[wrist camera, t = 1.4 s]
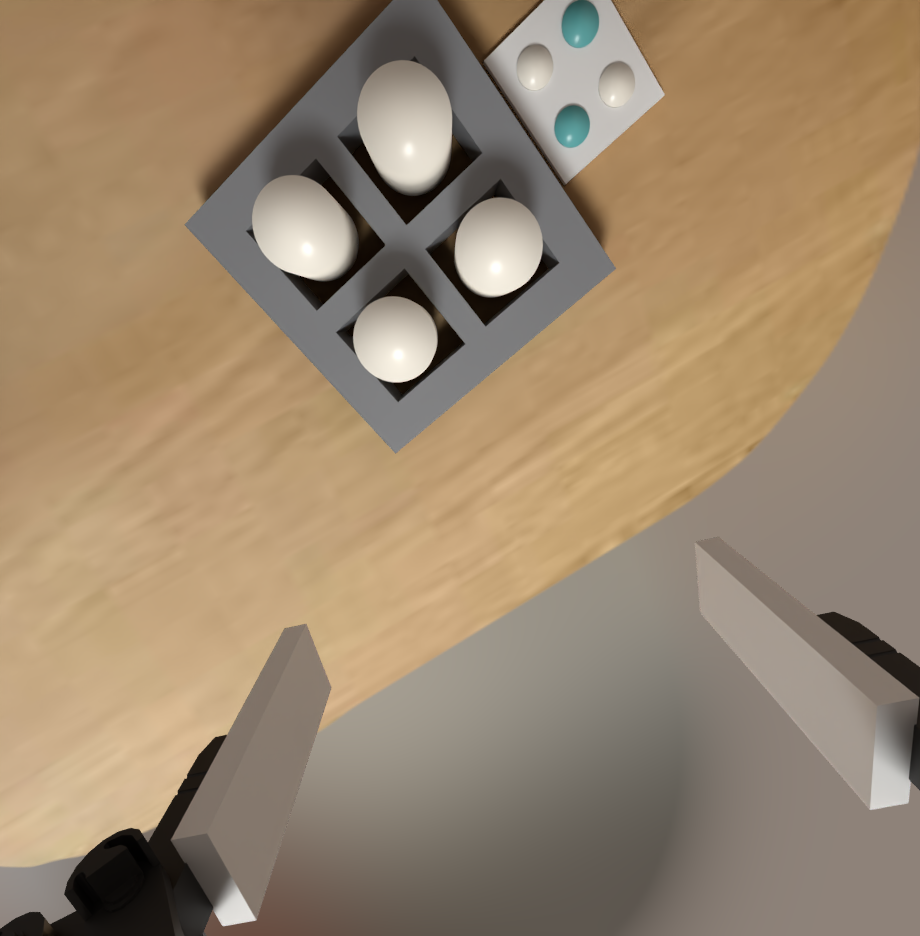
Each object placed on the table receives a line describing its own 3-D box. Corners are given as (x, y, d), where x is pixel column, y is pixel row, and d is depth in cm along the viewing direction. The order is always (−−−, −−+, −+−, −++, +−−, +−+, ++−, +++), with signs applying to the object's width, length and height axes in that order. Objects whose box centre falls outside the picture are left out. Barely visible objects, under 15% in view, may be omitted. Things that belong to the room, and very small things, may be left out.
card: (483, 64, 33) (484, 58, 32) (584, -37, 32) (587, -45, 31) (564, 185, 36) (566, 182, 35) (661, 98, 34) (666, 93, 33)
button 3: (352, 333, 36) (335, 335, 31) (405, 284, 35) (397, 277, 30) (400, 387, 37) (392, 398, 32) (452, 342, 36) (453, 345, 31)
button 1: (266, 235, 34) (233, 219, 28) (320, 179, 33) (296, 153, 27) (321, 297, 35) (298, 293, 30) (374, 246, 34) (361, 232, 29)
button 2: (355, 144, 32) (337, 110, 27) (415, 83, 31) (408, 35, 26) (408, 213, 33) (401, 193, 28) (467, 157, 32) (471, 126, 27)
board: (212, 234, 36) (184, 224, 32) (422, 13, 32) (418, -28, 28) (400, 441, 42) (395, 453, 38) (599, 273, 38) (616, 268, 34)
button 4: (439, 252, 34) (437, 240, 29) (497, 198, 33) (506, 176, 28) (485, 313, 36) (492, 312, 30) (543, 263, 35) (560, 253, 30)
